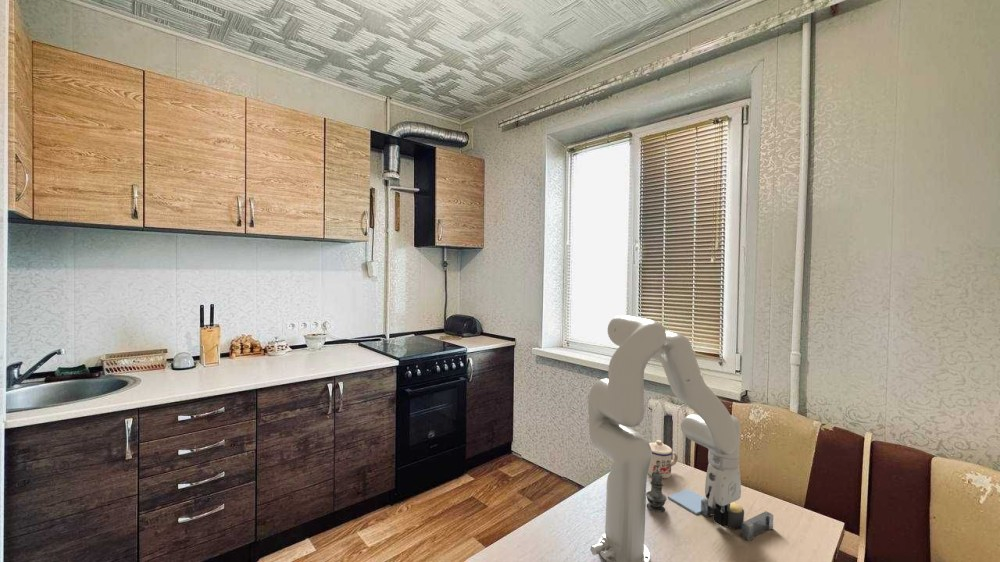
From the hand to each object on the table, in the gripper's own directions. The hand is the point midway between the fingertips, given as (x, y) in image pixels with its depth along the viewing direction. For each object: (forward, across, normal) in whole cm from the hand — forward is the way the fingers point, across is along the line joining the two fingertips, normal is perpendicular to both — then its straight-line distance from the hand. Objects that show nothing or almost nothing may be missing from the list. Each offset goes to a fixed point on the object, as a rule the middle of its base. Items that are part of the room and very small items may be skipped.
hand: (720, 523), depth 112 cm
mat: (+1, +4, +12) cm, 13 cm away
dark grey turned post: (+2, -9, +15) cm, 17 cm away
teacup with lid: (+2, +11, +29) cm, 31 cm away
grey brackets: (+1, +7, 0) cm, 8 cm away
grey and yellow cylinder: (+1, +5, 0) cm, 5 cm away
